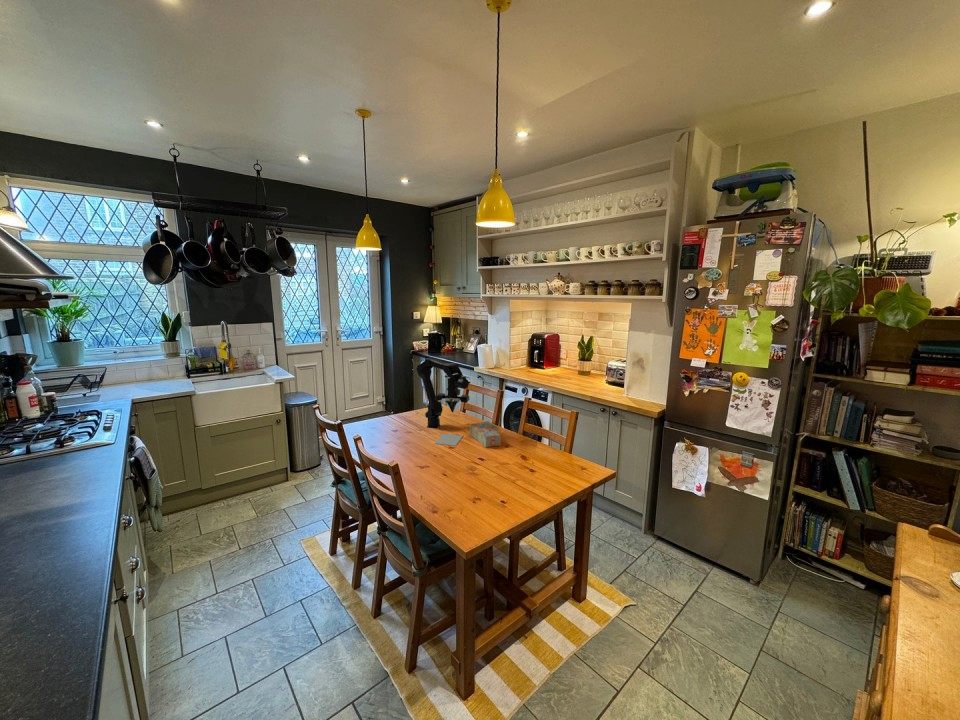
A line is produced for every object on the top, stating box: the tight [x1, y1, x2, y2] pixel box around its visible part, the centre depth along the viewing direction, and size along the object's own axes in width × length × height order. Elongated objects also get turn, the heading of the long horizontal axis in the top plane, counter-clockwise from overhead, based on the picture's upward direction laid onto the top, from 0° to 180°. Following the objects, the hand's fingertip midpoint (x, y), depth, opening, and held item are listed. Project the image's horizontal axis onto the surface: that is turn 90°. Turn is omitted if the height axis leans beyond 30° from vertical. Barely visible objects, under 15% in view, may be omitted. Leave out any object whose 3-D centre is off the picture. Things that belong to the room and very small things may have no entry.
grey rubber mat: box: [434, 433, 463, 447], centre depth 215 cm, size 12×14×1 cm
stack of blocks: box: [469, 420, 502, 448], centre depth 216 cm, size 21×6×12 cm
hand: (452, 412), depth 223 cm, fingers closed
